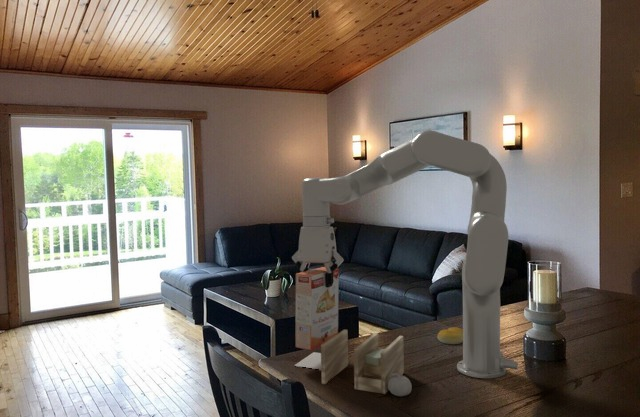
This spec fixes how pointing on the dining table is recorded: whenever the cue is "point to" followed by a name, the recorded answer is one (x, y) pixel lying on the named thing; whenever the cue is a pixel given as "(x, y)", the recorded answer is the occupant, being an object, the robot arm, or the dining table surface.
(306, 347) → the cracker box
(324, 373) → the rack
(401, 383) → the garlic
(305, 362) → the mat
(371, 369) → the offcut
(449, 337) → the bread roll
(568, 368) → the dining table surface
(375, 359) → the offcut
